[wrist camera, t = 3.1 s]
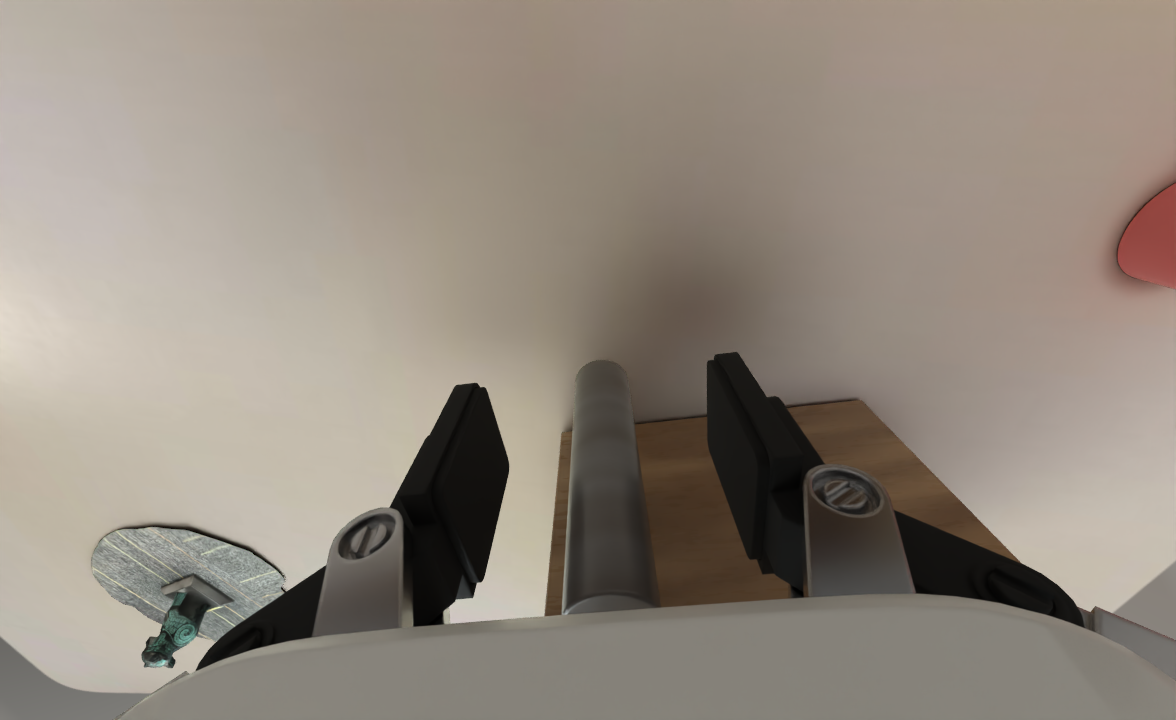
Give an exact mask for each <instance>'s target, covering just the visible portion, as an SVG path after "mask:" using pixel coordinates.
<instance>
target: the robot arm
mask: <svg viewBox="0 0 1176 720" xmlns="http://www.w3.org/2000/svg"><path fill="white" fill-rule="evenodd" d="M707 442H708V448H709V452H710V455H711V458H712V460H713V463H714V466H715V469H716V471H717V474H718V477H719V480H720V482H721V485H722V488H723V491H724V493H725V496H726V499H727V502H728V504H729V507H730V510H731V513H732V515H733V518H734V521H735V524H736V526H737V529H738V532H739V535H740V538H741V540H742V543H743V546H744V549H745V551H746V554H747V556H748V558H749V559H750V560H754V559H757V562H758V564H759V567H760V570H761V572H762V575H763V574H775V575H776V576H777V577H779V578H780V579H782V580H784V581H785V582H787V583H788V599H775V600H761V601H747V602H733V603H718V604H704V605H690V606H676V607H662V608H648V609H635V610H622V611H609V612H595V613H582V614H569V615H556V616H543V617H530V618H517V619H505V620H493V621H481V622H468V623H456V624H450V614H449V608H448V607H449V606H450V605H451V604H453V603H454V602H455V600H456V599H465V598H473V596H474V592H475V588H476V584H477V582H482V581H483V579H484V576H485V572H486V568H487V564H488V559H489V555H490V551H491V547H492V542H493V538H494V534H495V529H496V525H497V521H498V517H499V512H500V508H501V504H502V500H503V495H504V491H505V487H506V483H507V478H508V474H509V461H508V457H507V454H506V451H505V447H504V444H503V441H502V438H501V434H500V431H499V428H498V425H497V421H496V418H495V415H494V412H493V409H492V405H491V402H490V399H489V396H488V392H487V390H486V388H485V387H480V386H479V385H478V384H477V383H471V384H462V385H456V386H455V387H454V389H453V391H452V393H451V395H450V397H449V399H448V401H447V403H446V405H445V406H444V408H443V410H442V412H441V414H440V416H439V418H438V420H437V422H436V424H435V426H434V428H433V430H432V432H431V434H430V435H429V436H428V437H427V438H426V439H425V441H424V443H423V445H422V446H421V448H420V450H419V452H418V454H417V456H416V458H415V460H414V462H413V464H412V466H411V467H410V469H409V471H408V473H407V475H406V477H405V479H404V481H403V483H402V485H401V486H400V488H399V490H398V492H397V494H396V496H395V498H394V500H393V502H392V504H391V506H390V507H389V508H378V509H374V510H370V511H368V512H366V513H363V514H361V515H359V516H358V517H356V518H355V519H353V520H352V521H350V522H349V523H348V524H347V525H346V526H345V527H344V528H342V529H341V530H340V532H339V533H338V534H337V536H336V537H335V539H334V540H333V542H332V545H331V548H330V551H329V556H328V561H327V565H326V566H324V567H323V568H321V569H320V570H318V571H317V572H315V573H314V574H312V575H311V576H309V577H308V578H306V579H305V580H303V581H302V582H300V583H299V584H297V585H296V586H294V587H293V588H291V589H290V590H288V591H287V592H285V593H284V594H282V595H281V596H279V597H278V598H276V599H275V600H273V601H272V602H270V603H269V604H267V605H266V606H264V607H263V608H261V609H260V610H258V611H257V612H256V613H254V614H253V615H251V616H250V617H248V618H247V619H245V620H244V621H242V622H241V623H239V624H238V625H236V626H235V627H233V628H232V629H231V630H230V631H228V632H227V633H226V634H224V635H223V636H222V637H221V638H220V639H219V640H218V641H217V642H216V643H215V644H214V645H213V646H212V647H211V648H210V649H209V650H208V652H207V653H206V654H205V656H204V657H203V658H202V660H201V661H200V663H199V665H198V667H197V669H196V671H195V672H193V673H191V674H189V673H188V672H187V671H185V672H183V673H182V674H180V675H179V676H177V677H176V678H174V679H173V680H171V681H170V682H168V683H167V684H165V685H164V686H162V687H161V688H159V689H158V690H156V691H155V692H153V693H152V694H150V695H149V696H147V697H146V698H144V699H143V700H142V701H140V702H138V703H137V704H136V705H134V706H132V707H131V708H129V709H128V710H126V711H125V712H123V713H122V714H120V715H119V716H117V717H116V718H115V719H113V720H1176V640H1174V639H1172V638H1169V637H1167V636H1165V635H1162V634H1160V633H1157V632H1155V631H1153V630H1150V629H1148V628H1145V627H1143V626H1141V625H1138V624H1136V623H1134V622H1131V621H1129V620H1126V619H1124V618H1122V617H1119V616H1117V615H1115V614H1112V613H1110V612H1108V611H1105V610H1103V609H1101V608H1098V607H1096V606H1095V607H1094V608H1093V610H1092V611H1091V612H1088V611H1086V610H1084V609H1081V608H1079V607H1077V606H1076V604H1075V603H1074V601H1073V600H1072V599H1071V598H1070V597H1069V596H1068V595H1067V594H1066V593H1065V592H1064V591H1063V590H1062V589H1061V588H1060V587H1059V586H1058V585H1057V584H1055V583H1054V582H1053V581H1051V580H1050V579H1048V578H1047V577H1045V576H1044V575H1043V574H1041V573H1039V572H1037V571H1035V570H1033V569H1031V568H1029V567H1027V566H1026V565H1024V564H1021V563H1019V562H1017V561H1014V560H1012V559H1010V558H1007V557H1005V556H1002V555H1000V554H998V553H995V552H993V551H991V550H988V549H986V548H984V547H981V546H979V545H976V544H974V543H972V542H969V541H967V540H965V539H962V538H960V537H957V536H955V535H953V534H950V533H948V532H946V531H943V530H941V529H939V528H936V527H934V526H931V525H929V524H927V523H924V522H922V521H920V520H917V519H915V518H912V517H910V516H908V515H905V514H903V513H901V512H898V511H896V510H894V509H893V506H892V502H891V498H890V496H889V494H888V492H887V490H886V488H885V487H884V486H883V485H882V484H881V483H880V482H879V481H878V480H877V479H875V478H874V477H872V476H871V475H869V474H868V473H866V472H864V471H862V470H859V469H857V468H854V467H851V466H846V465H842V464H825V463H824V462H823V460H822V459H821V457H820V456H819V454H818V453H817V451H816V450H815V449H814V447H813V446H812V444H811V443H810V441H809V440H808V438H807V437H806V435H805V434H804V433H803V431H802V430H801V428H800V427H799V425H798V424H797V422H796V421H795V420H794V418H793V417H792V415H791V414H790V412H789V411H788V409H787V408H786V407H785V405H784V404H783V402H782V401H781V400H780V399H779V397H776V396H774V397H766V395H765V394H764V392H763V391H762V389H761V388H760V386H759V385H758V383H757V381H756V380H755V378H754V377H753V375H752V374H751V372H750V371H749V369H748V367H747V366H746V364H745V363H744V361H743V360H742V358H741V357H740V355H739V354H738V352H731V353H722V354H715V356H714V360H709V361H708V362H707Z"/></svg>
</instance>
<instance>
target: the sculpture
mask: <svg viewBox="0 0 1176 720" xmlns="http://www.w3.org/2000/svg"><path fill="white" fill-rule="evenodd" d="M91 561H92V569H93V575H94V576H95V578H96V579H97V581H98V582H99V583H100V584H101V586H103V587H104V588H105V589H106V590H107V591H108V593H109V594H110V595H111V597H113V598H114V599H116V600H118V601H119V602H121V603H123V604H125V605H130V606H133V607H135V608H136V609H137V610H138V611H140V612H141V613H142V614H144V615H145V616H147V617H148V618H150V619H152V620H154V621H156V622H158V623H160V624H162V628H161V632H160V635H159V636H158V637H149V639H148V640H147V642H146V648H145V650H144V651H143V652H142V654H141V655H142V660H143V662H144V663H145V665H144V667H153V668H155V667H162V666H166V667H167V668H173V666H174V664H175V659H174V658H173V657H172V654H173V653H174V652H175V651H177V650H179V649H180V648H182V647H184V646H186V645H187V644H188V643H190V642H191V641H192V640H193V639H194V638H195V637H196V636H197V637H201V638H205V639H209V640H213V641H218V640H219V639H220V638H221V637H222V636H223V635H224V634H226V633H227V632H228V631H230V630H231V629H232V628H233V627H235V626H236V625H238V624H239V623H241V622H242V621H244V620H245V619H247V618H248V617H250V616H251V615H253V614H254V613H256V612H257V611H258V610H260V609H261V608H263V607H264V606H266V605H267V604H269V603H270V602H272V601H273V600H275V599H276V598H278V597H279V596H281V595H282V594H284V593H285V592H283V591H282V589H281V587H282V585H283V583H284V578H283V577H282V575H281V574H279V572H278V571H276V570H275V569H274V568H273V567H271V566H270V565H269V564H267V563H266V562H264V561H263V560H262V559H261V558H258V557H257V556H255V555H253V553H251V552H250V551H247V550H244V549H241V548H239V547H236V546H233V545H230V544H227V543H225V542H222V541H219V540H216V539H213V538H210V537H207V536H203V535H200V534H197V533H194V532H191V531H188V530H176V529H166V528H159V527H147V528H145V529H140V528H139V529H138V530H136V529H121V530H116V531H115V532H112V533H110V534H109V535H107V536H105V537H104V538H103V539H102V540H100V542H99V545H98V547H97V548H96V549H95V551H94V553H93V557H92V560H91Z"/></svg>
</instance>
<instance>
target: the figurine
mask: <svg viewBox="0 0 1176 720" xmlns="http://www.w3.org/2000/svg"><path fill="white" fill-rule="evenodd" d="M1118 262H1119V265H1120V267H1121V269H1122V270H1123V271H1124V272H1125V273H1126V274H1127V275H1129V276H1131V277H1134V278H1137V279H1141V280H1144V281H1148V282H1151V283H1155V284H1158V285H1162V286H1166V287H1169V288H1173V289H1176V183H1175V184H1173V185H1171V186H1170V187H1168V188H1166V189H1165V190H1163V191H1162V192H1161V193H1159V194H1158V195H1157V196H1155V197H1154V198H1153V199H1152V200H1151V201H1150V202H1148V203H1147V204H1146V205H1145V206H1144V207H1143V208H1142V209H1141V210H1140V211H1139V212H1138V214H1137V215H1136V216H1135V217H1134V218H1133V220H1132V221H1131V223H1130V224H1129V225H1128V227H1127V229H1126V230H1125V232H1124V234H1123V236H1122V239H1121V241H1120V244H1119V248H1118Z"/></svg>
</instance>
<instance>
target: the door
mask: <svg viewBox="0 0 1176 720" xmlns="http://www.w3.org/2000/svg"><path fill="white" fill-rule="evenodd" d="M787 409H788V411H789V412H790V414H791V415H792V417H793V418H794V420H795V421H796V422H797V424H798V425H799V427H800V428H801V430H802V431H803V433H804V434H805V435H806V437H807V438H808V440H809V441H810V443H811V444H812V446H813V447H814V449H815V450H816V451H817V453H818V454H819V456H820V457H821V459H822V460H823V462H824V463H825V464H842V465H846V466H851V467H854V468H857V469H859V470H862V471H864V472H866V473H868V474H869V475H871V476H872V477H874V478H875V479H877V480H878V481H879V482H880V483H881V484H882V485H883V486H884V487H885V488H886V490H887V492H888V494H889V496H890V498H891V502H892V506H893V509H894V510H896V511H898V512H901V513H903V514H905V515H908V516H910V517H912V518H915V519H917V520H920V521H922V522H924V523H927V524H929V525H931V526H934V527H936V528H939V529H941V530H943V531H946V532H948V533H950V534H953V535H955V536H957V537H960V538H962V539H965V540H967V541H969V542H972V543H974V544H976V545H979V546H981V547H984V548H986V549H988V550H991V551H993V552H995V553H998V554H1000V555H1002V556H1005V557H1007V558H1010V559H1012V560H1014V561H1017V562H1019V563H1021V562H1020V561H1019V560H1018V559H1017V558H1016V557H1015V556H1014V555H1013V554H1012V553H1011V552H1010V551H1009V550H1008V549H1007V548H1006V547H1005V546H1004V545H1003V544H1002V543H1001V542H1000V541H999V540H998V539H997V538H996V537H995V536H994V535H993V534H992V533H991V532H990V531H989V530H988V529H987V528H986V527H985V526H984V525H983V524H982V523H981V522H980V521H979V520H978V519H977V517H976V516H975V515H974V514H973V513H972V512H971V511H970V510H969V509H968V508H967V507H966V506H965V505H964V504H963V503H962V502H961V501H960V500H959V499H958V498H957V497H956V496H955V495H954V494H953V493H952V492H951V491H950V490H949V489H948V488H947V487H946V486H945V485H944V484H943V483H942V482H941V481H940V480H939V479H938V478H937V477H936V476H935V475H934V474H933V473H932V472H931V471H930V470H929V469H928V468H927V466H926V465H925V464H924V463H923V462H922V461H921V460H920V459H919V458H918V457H917V456H916V455H915V454H914V453H913V452H912V451H911V450H910V449H909V448H908V447H907V446H906V445H905V444H904V443H903V442H902V441H901V440H900V439H899V438H898V437H897V436H896V435H895V434H894V433H893V432H892V431H891V430H890V429H889V428H888V427H887V426H886V425H885V424H884V423H883V422H882V421H881V420H880V419H879V418H878V417H877V416H876V414H875V413H874V412H873V411H872V410H871V409H870V408H869V407H868V406H867V405H866V404H865V403H864V402H863V401H862V400H855V401H846V402H837V403H828V404H819V405H809V406H800V407H791V408H787ZM1021 564H1022V563H1021ZM775 599H788V583H787V582H785V581H784V580H782V579H780V578H779V577H777V576H776V575H775V574H763V575H762V572H761V570H760V567H759V564H758V562H757V559H754V560H750V559H749V558H748V556H747V554H746V551H745V549H744V546H743V543H742V540H741V538H740V535H739V532H738V529H737V526H736V524H735V521H734V518H733V515H732V513H731V510H730V507H729V504H728V502H727V499H726V496H725V493H724V491H723V488H722V485H721V482H720V480H719V477H718V474H717V471H716V469H715V466H714V463H713V460H712V458H711V455H710V452H709V448H708V442H707V417H699V418H690V419H680V420H671V421H662V422H653V423H644V424H634V418H633V411H632V404H631V397H630V390H629V383H628V377H627V374H626V372H625V371H624V370H623V368H622V367H621V366H619V365H618V364H616V363H614V362H612V361H609V360H595V361H592V362H590V363H588V364H586V365H585V366H583V367H582V368H581V369H580V371H579V372H578V374H577V376H576V380H575V396H574V413H573V430H572V431H570V432H562V434H561V445H560V456H559V466H558V477H557V488H556V498H555V509H554V520H553V530H552V541H551V552H550V562H549V573H548V584H547V594H546V605H545V616H556V615H569V614H582V613H595V612H609V611H622V610H635V609H648V608H662V607H676V606H690V605H704V604H718V603H733V602H747V601H761V600H775Z"/></svg>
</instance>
